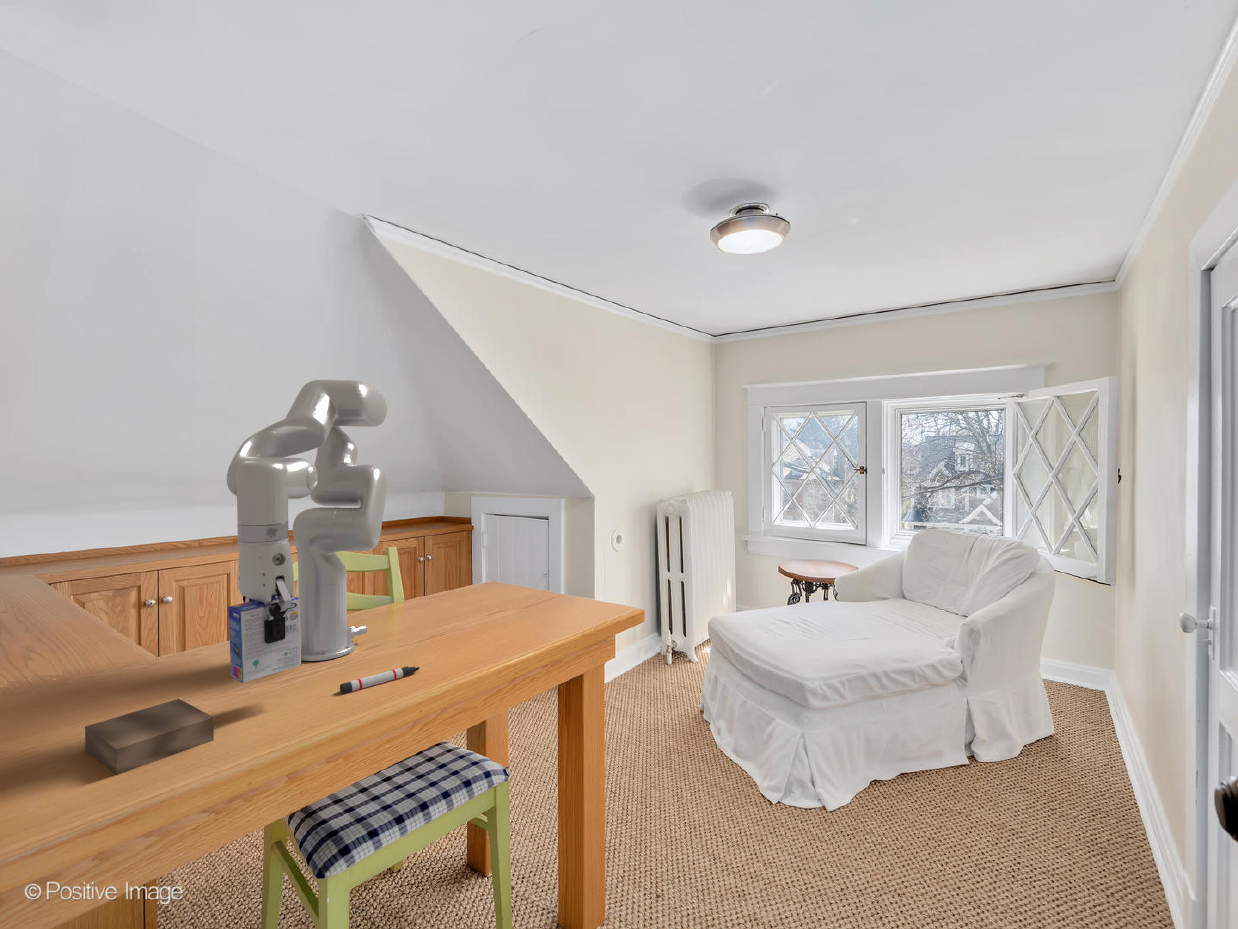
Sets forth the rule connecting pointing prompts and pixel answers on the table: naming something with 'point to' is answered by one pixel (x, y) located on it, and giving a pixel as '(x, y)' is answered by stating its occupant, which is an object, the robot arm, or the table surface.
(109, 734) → the walnut block
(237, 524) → the robot arm
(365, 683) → the marker
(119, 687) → the table surface
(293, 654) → the ink cartridge box
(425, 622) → the table surface
